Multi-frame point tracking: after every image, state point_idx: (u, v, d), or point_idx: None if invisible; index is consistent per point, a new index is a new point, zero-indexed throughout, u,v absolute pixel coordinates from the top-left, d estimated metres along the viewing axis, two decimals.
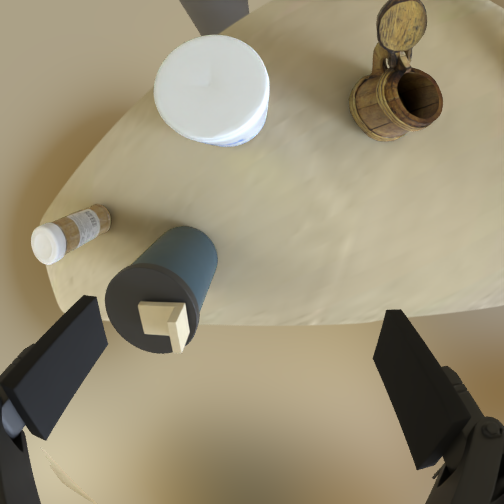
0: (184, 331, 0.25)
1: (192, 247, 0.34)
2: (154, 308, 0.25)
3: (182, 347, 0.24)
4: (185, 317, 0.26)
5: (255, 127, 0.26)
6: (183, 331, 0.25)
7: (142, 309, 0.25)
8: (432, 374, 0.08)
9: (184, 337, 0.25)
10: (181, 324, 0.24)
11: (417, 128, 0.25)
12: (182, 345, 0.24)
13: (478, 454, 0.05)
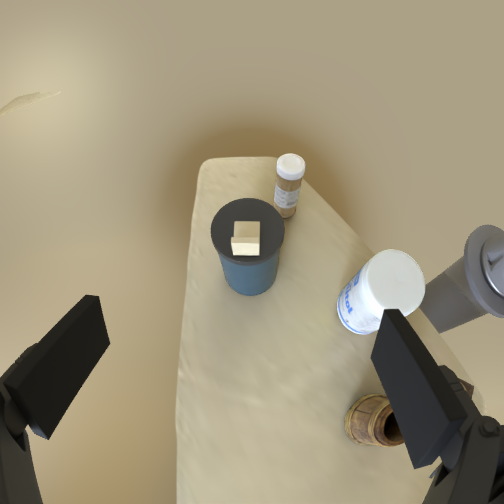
0: (241, 249, 0.36)
1: (272, 273, 0.46)
2: (257, 232, 0.37)
3: (234, 245, 0.34)
4: (249, 253, 0.36)
5: (363, 316, 0.39)
6: (243, 249, 0.35)
7: (256, 223, 0.38)
8: (429, 373, 0.08)
9: (238, 248, 0.35)
10: (250, 248, 0.35)
11: (372, 431, 0.32)
12: (235, 245, 0.34)
13: (475, 453, 0.05)
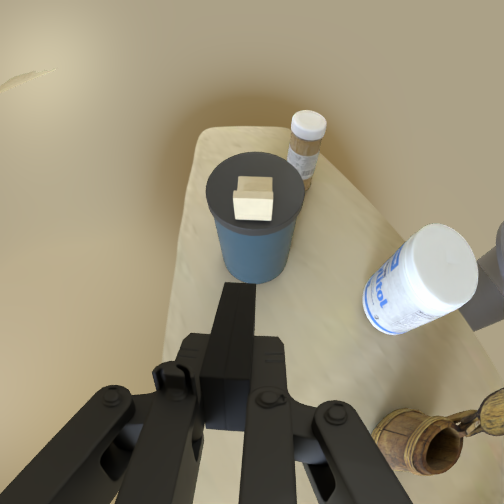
0: (247, 210, 0.25)
1: (284, 253, 0.35)
2: (269, 190, 0.27)
3: (237, 201, 0.24)
4: (258, 216, 0.26)
5: (403, 310, 0.29)
6: (249, 209, 0.25)
7: (267, 180, 0.27)
8: (237, 336, 0.10)
9: (242, 208, 0.25)
10: (260, 207, 0.25)
11: (411, 458, 0.21)
12: (239, 202, 0.24)
13: (258, 429, 0.07)
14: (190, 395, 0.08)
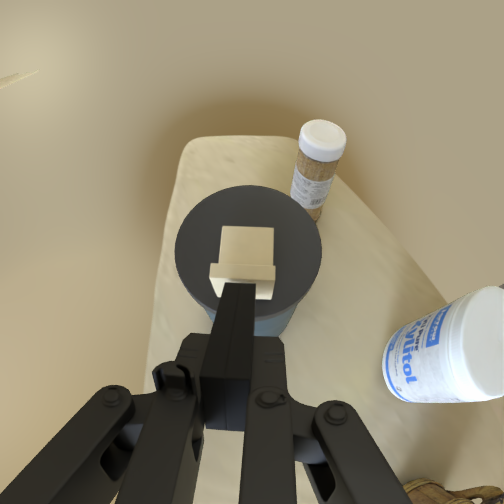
0: None
1: (288, 319, 0.26)
2: (269, 251, 0.18)
3: (216, 281, 0.15)
4: None
5: (436, 393, 0.20)
6: None
7: (266, 232, 0.18)
8: (237, 336, 0.10)
9: None
10: None
11: None
12: (220, 282, 0.15)
13: (258, 429, 0.07)
14: (190, 395, 0.08)
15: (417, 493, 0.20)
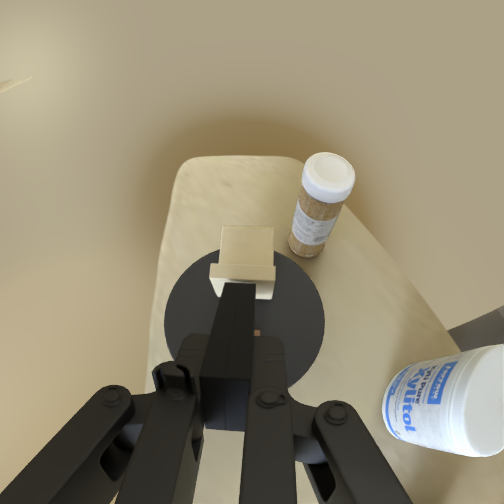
0: None
1: None
2: (269, 251, 0.18)
3: (216, 281, 0.15)
4: None
5: (433, 445, 0.18)
6: None
7: (266, 232, 0.18)
8: (237, 336, 0.10)
9: None
10: None
11: None
12: (220, 282, 0.15)
13: (259, 429, 0.07)
14: (190, 395, 0.08)
15: None
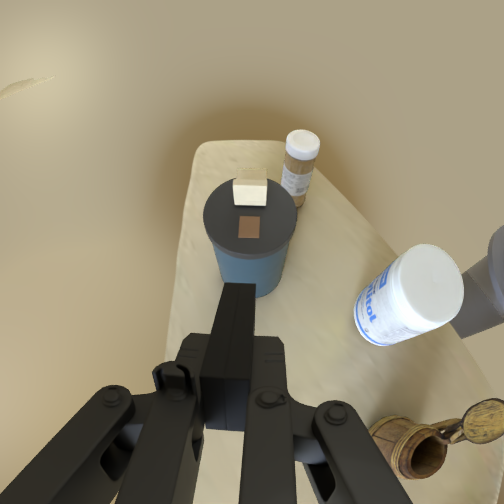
0: (245, 196, 0.29)
1: (278, 271, 0.37)
2: (264, 180, 0.31)
3: (236, 188, 0.28)
4: (254, 202, 0.30)
5: (390, 325, 0.31)
6: (246, 195, 0.29)
7: (262, 171, 0.31)
8: (237, 336, 0.10)
9: (241, 194, 0.29)
10: (256, 193, 0.28)
11: (396, 463, 0.23)
12: (238, 189, 0.28)
13: (258, 429, 0.07)
14: (190, 395, 0.08)
15: (390, 424, 0.31)
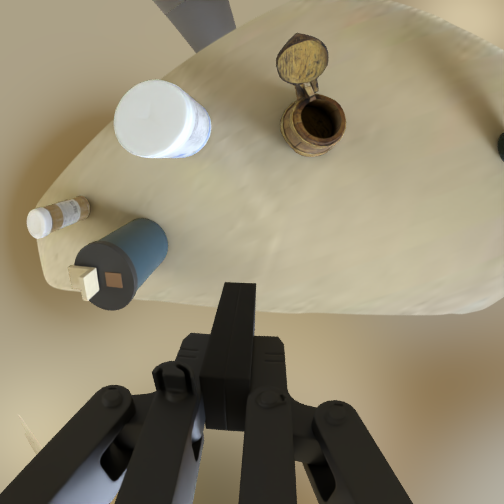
0: (92, 287, 0.34)
1: (144, 234, 0.43)
2: (77, 269, 0.34)
3: (88, 297, 0.33)
4: (95, 277, 0.34)
5: (187, 146, 0.35)
6: (91, 286, 0.34)
7: (70, 270, 0.34)
8: (237, 336, 0.10)
9: (92, 291, 0.34)
10: (89, 281, 0.33)
11: (321, 146, 0.34)
12: (89, 295, 0.33)
13: (258, 429, 0.07)
14: (190, 395, 0.08)
15: (286, 131, 0.40)
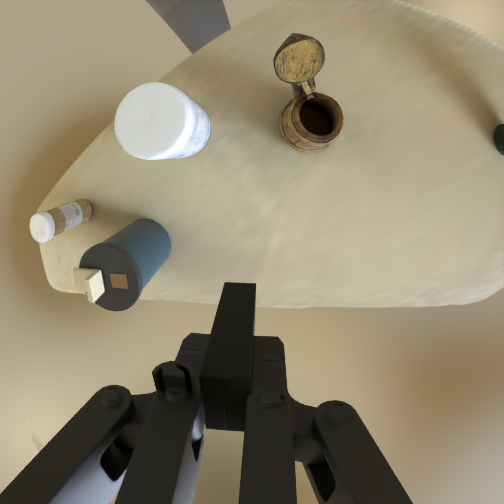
0: (98, 288, 0.35)
1: (146, 234, 0.43)
2: (82, 272, 0.35)
3: (94, 299, 0.34)
4: (100, 279, 0.35)
5: (188, 147, 0.36)
6: (97, 288, 0.34)
7: (75, 273, 0.35)
8: (237, 336, 0.10)
9: (97, 292, 0.34)
10: (95, 283, 0.34)
11: (320, 143, 0.35)
12: (95, 297, 0.34)
13: (258, 429, 0.07)
14: (190, 395, 0.08)
15: (284, 129, 0.40)
